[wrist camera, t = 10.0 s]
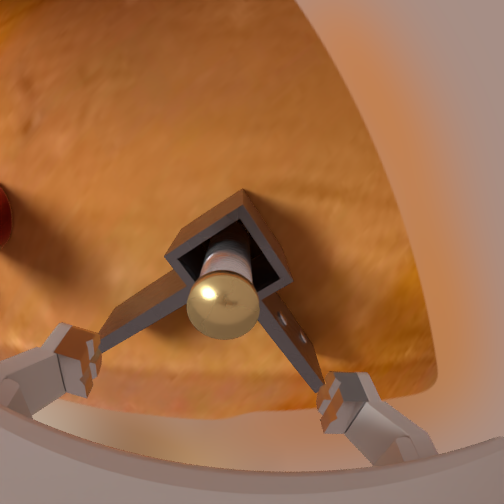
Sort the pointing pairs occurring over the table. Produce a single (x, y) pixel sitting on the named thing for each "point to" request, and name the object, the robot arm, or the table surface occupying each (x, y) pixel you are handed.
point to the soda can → (5, 218)
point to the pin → (225, 287)
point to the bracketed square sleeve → (188, 272)
